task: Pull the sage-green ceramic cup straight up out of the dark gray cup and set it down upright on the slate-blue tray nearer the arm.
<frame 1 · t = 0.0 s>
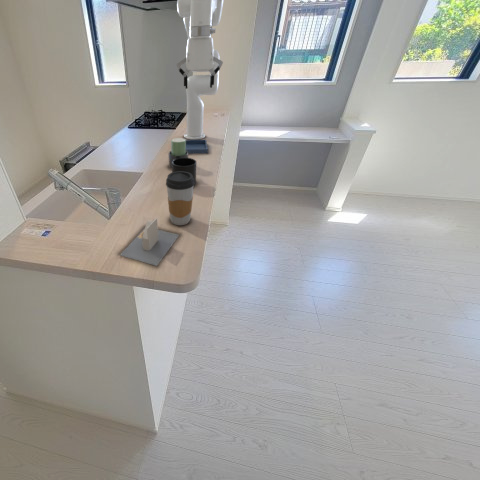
hand: (198, 87, 106), 31 cm above the worktop, tool pointing down, fingers open, 9 cm apart
green cup: (178, 165, 122), resting on dark gray cup
architectural model: (150, 245, 76), on the worktop
dark gray cup: (178, 166, 123), on the worktop
coffee cup: (180, 220, 86), on the worktop
mug: (184, 182, 109), on the worktop
tray: (193, 149, 142), on the worktop
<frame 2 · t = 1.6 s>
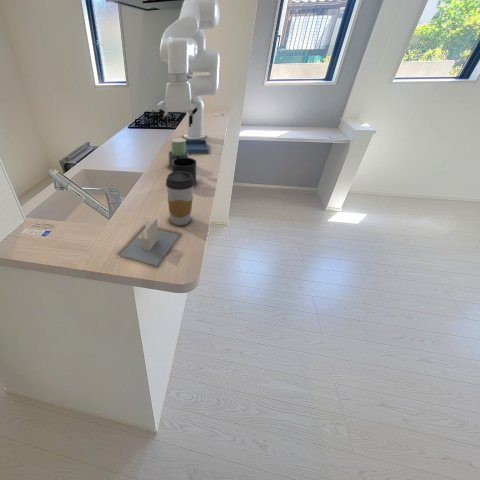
hand: (178, 126, 112), 18 cm above the worktop, tool pointing down, fingers open, 9 cm apart
nothing on the worktop moved.
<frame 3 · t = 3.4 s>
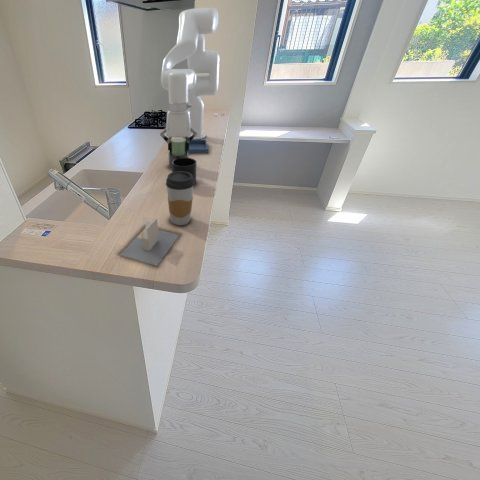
hand: (178, 151, 118), 7 cm above the worktop, tool pointing down, fingers closed on green cup, 6 cm apart
green cup: (178, 165, 122), point 1 cm above the worktop, touching dark gray cup, gripper
everything else where it was.
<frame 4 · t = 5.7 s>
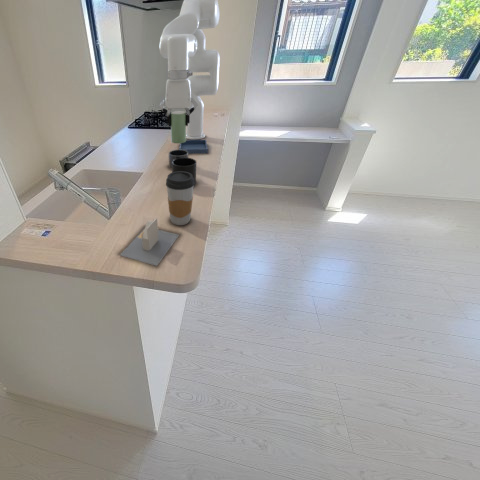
hand: (178, 124, 112), 18 cm above the worktop, tool pointing down, fingers closed on green cup, 6 cm apart
green cup: (178, 141, 116), point 11 cm above the worktop, touching gripper
everything else where it was.
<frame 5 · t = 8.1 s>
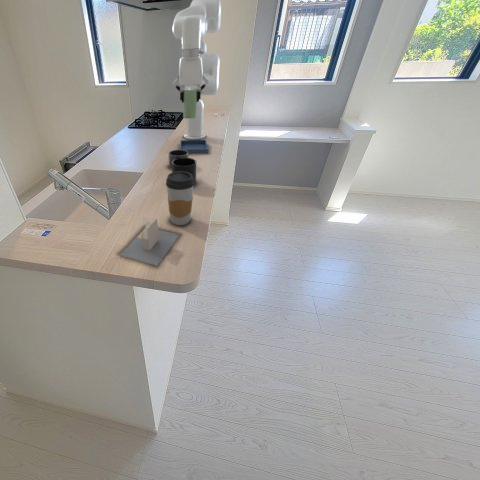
hand: (190, 101, 122), 24 cm above the worktop, tool pointing down, fingers closed on green cup, 6 cm apart
green cup: (189, 116, 126), point 18 cm above the worktop, touching gripper
everything else where it was.
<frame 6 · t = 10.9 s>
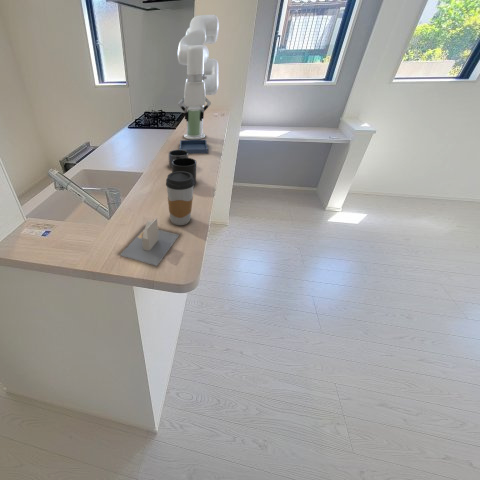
hand: (194, 120, 133), 14 cm above the worktop, tool pointing down, fingers closed on green cup, 6 cm apart
green cup: (193, 134, 137), point 8 cm above the worktop, touching gripper
everything else where it was.
when the fingers open (7 cm above the worktop, at t = 13.1 s): green cup stays where it is, resting on tray.
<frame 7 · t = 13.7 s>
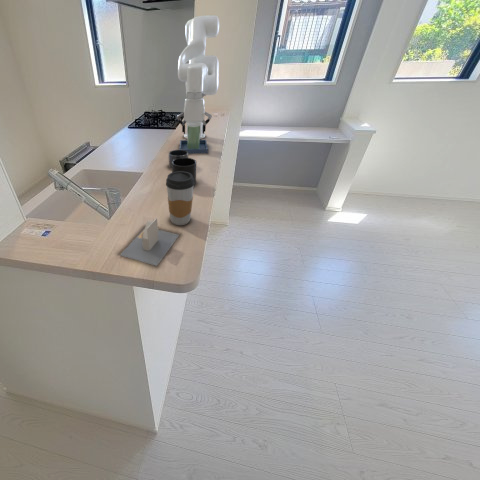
hand: (193, 133, 137), 8 cm above the worktop, tool pointing down, fingers open, 9 cm apart
green cup: (193, 148, 141), resting on tray
everything else where it was.
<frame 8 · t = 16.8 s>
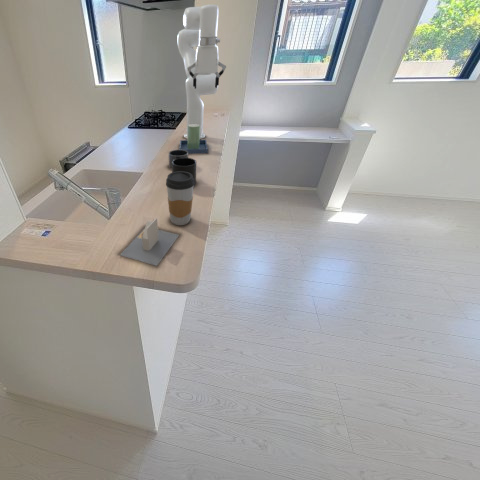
hand: (205, 87, 125), 28 cm above the worktop, tool pointing down, fingers open, 9 cm apart
nothing on the worktop moved.
at the end: green cup inside the target area in the tray (0.2 cm from its centre), point 0.5 cm above the tray's base; green cup tilted 0°; the gripper is holding nothing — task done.
